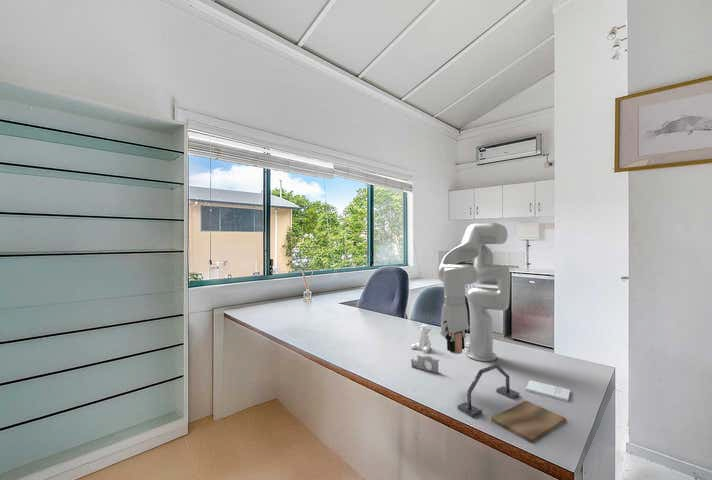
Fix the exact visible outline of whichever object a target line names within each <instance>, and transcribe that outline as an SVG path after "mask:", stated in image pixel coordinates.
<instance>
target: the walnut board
mask: <svg viewBox="0 0 712 480" xmlns="http://www.w3.org/2000/svg"><path fill="white" fill-rule="evenodd" d="M490 418H491V419H490V421H491V422H493V423H494V424H496V425H498V426H500V427H502V428H503V429H505V430H507V431H509V432H511V433H512V434H514V435H516V436H518V437H520V438H522V439H524V440H525V441H527V442H529V443H531V444H532V443H534V442H536V441H537V440H539V439H541V438H543V437H544V436H545V435H546V434H549V433H550V432H551V431H554V430H555V429H556V428H558V427H560V426H561V425H563V424H565V423H566V422H567V417H565V416H563V415H561V414H558V413H556V412H554V411H552V410H549V409H547V408H544V407H542V406H540V405H537V404H535V403H533V402H530V401H528V400H524V401H522V402H520V403H518V404H517V405H514V406H512V407H510V408H508V409H506V410H504V411H502V412H499V413H498V414H496V415H494V416H491V417H490Z"/></svg>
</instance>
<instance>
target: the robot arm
mask: <svg viewBox="0 0 712 480" xmlns="http://www.w3.org/2000/svg"><path fill="white" fill-rule="evenodd" d="M508 236H509V235H508V230H507V228H506V226H505V225H503V224H500V223H498V222H478V223H477V222H476V223H471V224H469V225H468V226H467V227H466V228H465V230H464V234H463V236H462V238H461V241H460V244H459V245H458V246H455V247H454V248H453V249H451V250H449V251H448V252H447V253H445V255H444V256H443V258H442V260H441V263H440V265H439V268H438V273H437V274H438V279H439V280H440V282H442V283H443V304H442V307H441V315H440V335H441V336H442V337H444V338H445V340H446V349H447V351H449V352H450V351H451V352H455V341H453V340H454V333H456V332H461V333H462V350H465V349H466V348H467V352H466V355H467V357H468V358H470V359H472V360H475V361H478V362H493V361H495V360H497V357H498V356H497V354H496V352H494V350H493V349H494V348H493V347H494V345H493V343H494V342H493V317H492V315H491V314H490V312H489V311H488V310H492V311H493V310H494V311H506V310H508V308H509V306H510V299H511V298H510V295H511V293H510V292H511V271H510V268H509V267H508V266H507V265H505V264H494V253H493V252H492V250H491V248H489V246H487V245H503V244H505V243H506V242H507V240H508ZM472 259H473V265H470V264H461V263H462V262H467V261H470V260H472ZM473 283H475V284H477V285H483V286H484V287H483V286H482V287H481V286H474V287H471V288H469V289H468V291H467V294H466V286H467V285H473ZM486 286H487V287H486ZM488 286H495V287H488ZM496 286H497V287H496ZM466 298H467V299H466ZM466 300H467V303H468V307H467V303H466ZM468 308H469V310H468ZM468 311H469V315H468ZM468 318H469V319H468ZM468 331H469V341H465V338H466V334H467V333H468ZM449 334H451V337H450V336H449ZM451 352H450V353H451Z"/></svg>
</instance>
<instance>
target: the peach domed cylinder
mask: <svg viewBox="0 0 712 480" xmlns="http://www.w3.org/2000/svg"><path fill="white" fill-rule="evenodd" d="M449 336H450V337H451V334H449ZM453 341H455V352H451V351H449V353H451V354H454V355H460V354H463V349H462V333H461V332H456V333H454V340H453Z"/></svg>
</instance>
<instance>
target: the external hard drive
mask: <svg viewBox="0 0 712 480" xmlns="http://www.w3.org/2000/svg"><path fill="white" fill-rule="evenodd" d="M527 383H528V384H526V387H525V391H526V392H529V393H532V394H535V395H536V394H537V395H540V396H543V397H548V398H551V399H555V400H559V401H564V402H567V403H568V402H569V399H570V396H571V389H567V388H564V387H559V386H555V385H552V384H548V383H543V382H539V381H535V380H532V379H530V380H529V381H528V382H527Z"/></svg>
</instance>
